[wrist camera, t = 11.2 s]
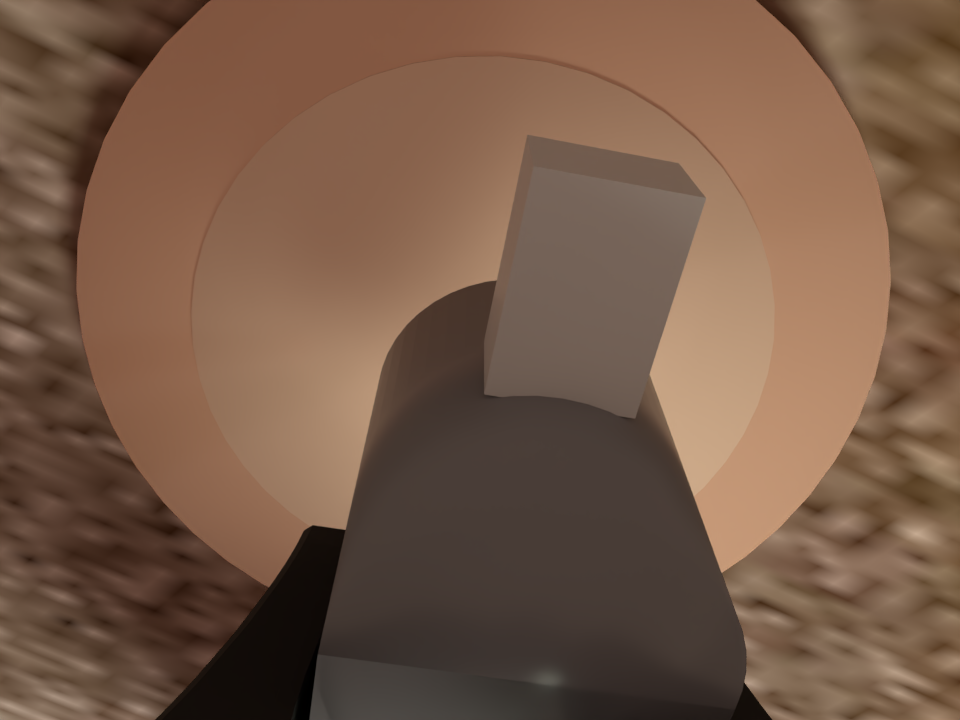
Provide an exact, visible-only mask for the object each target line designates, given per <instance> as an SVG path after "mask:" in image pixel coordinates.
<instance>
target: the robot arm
mask: <svg viewBox="0 0 960 720" xmlns="http://www.w3.org/2000/svg"><path fill="white" fill-rule="evenodd" d="M344 535H345V530H343V529H336V528H329V527H322V526H315V525H312V526H310V527H309V528H307V529H305V530H304V531H303V533H302V535H301V537H300V539H299V541H298V543H297V545H296V547H295V548H294V550H293V552H292V553H291V555H290V557H289V558H288V560H287V562H286V563H285V565H284V566H283V568H282V569H281V571H280V572H279V574H278V575H277V577H276V578H275V580H274V581H273V582H272V584H271V585H270V587H269V588H268V590H267V591H266V592H265V594H264V595H263V596H262V598H261V599H260V600H259V602H258V603H257V604H256V606H255V607H254V608H253V610H252V611H251V612H250V613H249V615H248V616H247V617H246V619H245V620H244V621H243V623H242V624H241V625H240V627H239V628H238V629H237V630H236V632H235V633H234V634H233V635H232V636H231V638H230V639H229V640H228V641H227V642H226V643H225V645H224V646H223V647H222V648H221V649H220V650H219V652H218V653H217V654H216V655H215V656H214V657H213V658H212V660H211V661H210V662H209V663H208V664H207V665H206V667H205V668H204V669H203V670H202V671H201V672H200V673H199V675H198V676H197V677H196V678H195V679H194V680H193V681H192V682H191V683H190V685H189V686H188V687H187V688H186V689H185V690H184V691H183V692H182V693H181V694H180V695H179V696H178V697H177V698H176V699H175V700H174V701H173V702H172V703H171V704H170V706H169V707H168V708H167V709H166V710H165V711H164V712H163V713H162V714H161V715H160V716H159V717H158V718H157V719H156V720H309V718H310V711H311V703H312V695H313V687H314V680H315V672H316V664H317V656H318V651H319V647H320V642H321V638H322V633H323V629H324V624H325V620H326V615H327V611H328V606H329V602H330V597H331V593H332V589H333V584H334V580H335V575H336V571H337V566H338V562H339V557H340V553H341V548H342V544H343V539H344ZM730 720H772V719H771V718H770V716H769V715H768V714H767V712H766V711H765V710H764V709H763V707H762V706H761V705H760V703H759V702H758V701H757V699H756V698H755V697H754V695H753V694H752V692H751V691H750V690H749V688H748V687H747V686H746V684H745V683H744V685H743V690H742V693H741V695H740V698H739V701H738V703H737V706H736V708H735V711H734V713H733V715H732V717H731V719H730Z"/></svg>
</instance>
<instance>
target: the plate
mask: <svg viewBox="0 0 960 720" xmlns="http://www.w3.org/2000/svg"><path fill="white" fill-rule="evenodd" d="M527 135H532V136H537V137H542V138H548V139H553V140H558V141H564V142H569V143H574V144H580V145H585V146H590V147H596V148H601V149H606V150H612V151H617V152H622V153H628V154H633V155H638V156H644V157H649V158H654V159H659V160H665V161H670V162H675V163H679V164H680V165H681V167H682V168H683V169H684V170H685V172H686V173H687V174H688V175H689V177H690V178H691V179H692V181H693V182H694V183H695V184H696V186H697V187H698V188H699V189H700V191H701V192H702V193H703V195H704V196H705V197H706V200H705V204H704V207H703V210H702V213H701V216H700V219H699V222H698V225H697V228H696V231H695V235H694V238H693V241H692V244H691V247H690V250H689V253H688V256H687V259H686V262H685V266H684V269H683V272H682V275H681V278H680V281H679V284H678V287H677V290H676V293H675V297H674V300H673V303H672V306H671V309H670V312H669V315H668V318H667V321H666V324H665V328H664V331H663V334H662V337H661V340H660V343H659V346H658V349H657V352H656V356H655V359H654V362H653V365H652V368H651V371H650V377H651V379H652V382H653V385H654V388H655V391H656V393H657V396H658V399H659V402H660V404H661V407H662V410H663V413H664V415H665V418H666V421H667V424H668V426H669V429H670V432H671V435H672V437H673V440H674V443H675V446H676V449H677V451H678V454H679V457H680V460H681V462H682V465H683V468H684V471H685V473H686V476H687V479H688V482H689V484H690V487H691V490H692V493H693V496H694V498H695V501H696V504H697V507H698V509H699V512H700V515H701V518H702V520H703V523H704V526H705V529H706V531H707V534H708V537H709V540H710V542H711V545H712V548H713V551H714V554H715V556H716V559H717V562H718V565H719V567H720V570H721V573H722V572H724V571H725V570H726V569H728V568H729V567H731V566H732V565H734V564H735V563H737V562H738V561H740V560H741V559H743V558H744V557H746V556H747V555H748V554H749V553H750V552H751V551H753V550H754V549H755V548H756V547H757V546H759V545H760V544H761V543H762V542H763V541H764V540H766V539H767V538H768V537H769V536H770V535H771V534H773V533H774V532H775V531H776V530H777V529H778V528H779V527H780V526H781V525H782V524H783V523H784V522H785V521H786V520H787V519H788V518H789V517H790V516H791V515H792V514H793V512H794V511H795V510H796V509H797V508H798V507H799V506H800V505H801V504H802V503H803V502H804V501H805V500H806V499H807V497H808V496H809V495H810V494H811V493H812V491H813V490H814V488H815V487H816V486H817V484H818V483H819V482H820V480H821V479H822V477H823V476H824V475H825V473H826V472H827V471H828V469H829V468H830V467H831V465H832V464H833V462H834V461H835V460H836V458H837V456H838V454H839V453H840V451H841V449H842V447H843V445H844V444H845V442H846V440H847V438H848V436H849V435H850V433H851V431H852V429H853V427H854V426H855V424H856V422H857V420H858V418H859V415H860V413H861V410H862V408H863V405H864V403H865V400H866V398H867V395H868V393H869V390H870V387H871V385H872V382H873V380H874V377H875V374H876V370H877V366H878V362H879V357H880V353H881V349H882V345H883V341H884V337H885V333H886V326H887V316H888V305H889V295H890V285H891V276H890V257H889V238H888V228H887V223H886V219H885V214H884V209H883V204H882V199H881V195H880V190H879V185H878V180H877V178H876V175H875V172H874V170H873V167H872V164H871V162H870V159H869V156H868V154H867V151H866V148H865V146H864V143H863V140H862V138H861V135H860V132H859V130H858V128H857V126H856V125H855V123H854V121H853V119H852V118H851V116H850V114H849V112H848V110H847V109H846V107H845V105H844V103H843V102H842V100H841V98H840V96H839V95H838V93H837V91H836V89H835V88H834V86H833V84H832V82H831V81H830V80H829V78H828V77H827V76H826V75H825V73H824V72H823V71H822V69H821V68H820V67H819V66H818V64H817V63H816V62H815V61H814V59H813V58H812V57H811V56H810V54H809V53H808V52H807V51H806V49H805V48H804V47H803V46H802V44H801V43H800V42H799V41H798V39H797V38H796V37H795V36H794V35H793V34H792V33H791V32H790V31H789V30H788V29H787V28H786V27H784V26H783V25H782V24H781V23H780V22H779V21H778V20H777V19H776V18H775V17H774V16H772V15H771V14H770V13H769V12H768V11H767V10H766V9H765V8H764V7H763V6H762V5H760V4H759V3H758V2H757V1H756V0H210V1H209V2H208V3H206V4H205V5H204V6H203V7H202V8H201V9H200V10H199V11H198V12H197V13H196V14H195V15H194V16H193V17H192V18H191V19H190V20H189V21H188V22H187V23H186V24H185V25H184V26H183V27H182V28H181V29H180V30H179V31H178V32H177V33H176V34H175V35H174V36H173V37H172V38H171V39H170V40H169V41H168V42H167V43H166V44H164V46H163V47H162V48H161V50H160V51H159V52H158V54H157V55H156V56H155V58H154V59H153V60H152V62H151V63H150V64H149V66H148V67H147V68H146V70H145V71H144V72H143V74H142V75H141V77H140V78H139V79H138V81H137V82H136V83H135V85H134V86H133V87H132V89H131V90H130V91H129V93H128V95H127V97H126V99H125V101H124V103H123V105H122V107H121V108H120V110H119V112H118V114H117V116H116V118H115V120H114V122H113V124H112V125H111V127H110V129H109V131H108V133H107V135H106V137H105V139H104V141H103V144H102V147H101V150H100V153H99V156H98V159H97V162H96V164H95V167H94V170H93V173H92V176H91V179H90V182H89V185H88V188H87V191H86V197H85V202H84V208H83V214H82V219H81V225H80V231H79V236H78V247H77V288H76V291H77V299H78V308H79V316H80V324H81V332H82V339H83V343H84V347H85V351H86V354H87V358H88V362H89V365H90V369H91V373H92V376H93V380H94V384H95V386H96V389H97V391H98V393H99V396H100V398H101V401H102V403H103V405H104V408H105V410H106V412H107V415H108V417H109V420H110V422H111V424H112V427H113V428H114V430H115V432H116V434H117V435H118V437H119V439H120V440H121V442H122V444H123V446H124V447H125V449H126V451H127V452H128V454H129V456H130V458H131V459H132V461H133V463H134V464H135V466H136V467H137V469H138V470H139V471H140V473H141V474H142V475H143V477H144V478H145V479H146V480H147V482H148V483H149V484H150V486H151V487H152V488H153V490H154V491H155V492H156V494H157V495H158V496H159V497H160V499H161V500H162V501H163V502H164V503H165V504H166V506H167V507H168V508H169V509H170V510H171V511H172V512H173V513H174V514H175V515H176V516H177V517H178V518H179V519H180V520H181V521H182V522H183V523H184V524H185V525H186V526H187V527H188V528H189V529H190V530H191V531H192V532H193V533H194V534H195V535H196V536H197V537H199V538H200V539H201V540H202V541H203V542H205V543H206V544H207V545H208V546H210V547H211V548H212V549H213V550H214V551H216V552H217V553H218V554H219V555H221V556H222V557H223V558H224V559H225V560H227V561H228V562H230V563H231V564H233V565H234V566H236V567H237V568H239V569H240V570H242V571H243V572H245V573H246V574H248V575H249V576H251V577H252V578H254V579H256V580H257V581H259V582H260V583H262V584H263V585H265V586H267V587H270V585H271V584H272V582H273V581H274V580H275V578H276V577H277V575H278V574H279V572H280V571H281V569H282V568H283V566H284V565H285V563H286V562H287V560H288V558H289V557H290V555H291V553H292V552H293V550H294V548H295V547H296V545H297V543H298V541H299V539H300V537H301V535H302V533H303V531H304V530H305V529H307V528H309V527H310V526H312V525H315V526H322V527H329V528H336V529H343V530H346V526H347V521H348V517H349V513H350V508H351V504H352V499H353V495H354V490H355V486H356V481H357V477H358V472H359V468H360V463H361V459H362V454H363V450H364V445H365V441H366V437H367V432H368V428H369V423H370V419H371V414H372V410H373V405H374V401H375V396H376V392H377V387H378V383H379V378H380V374H381V370H382V366H383V364H384V361H385V359H386V356H387V353H388V352H389V350H390V348H391V346H392V345H393V343H394V341H395V339H396V338H397V337H398V335H399V334H400V333H401V331H402V330H403V329H404V328H405V326H406V325H407V324H408V323H409V322H410V321H411V320H412V319H413V318H414V317H415V316H416V315H417V314H419V313H420V312H421V311H422V310H424V309H425V308H427V307H428V306H429V305H431V304H432V303H433V302H435V301H437V300H439V299H441V298H442V297H444V296H446V295H448V294H450V293H452V292H455V291H457V290H460V289H462V288H465V287H467V286H471V285H475V284H479V283H483V282H487V281H495V280H497V277H498V272H499V267H500V263H501V258H502V253H503V248H504V244H505V239H506V234H507V229H508V224H509V220H510V215H511V210H512V205H513V201H514V196H515V191H516V186H517V182H518V177H519V172H520V167H521V162H522V158H523V153H524V148H525V143H526V139H527Z"/></svg>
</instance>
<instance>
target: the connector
mask: <svg viewBox="0 0 960 720" xmlns="http://www.w3.org/2000/svg"><path fill="white" fill-rule="evenodd" d="M705 200H706V197H705V196H704V195H703V193H702V192H701V191H700V189H699V188H698V187H697V186H696V184H695V183H694V182H693V181H692V179H691V178H690V177H689V175H688V174H687V173H686V172H685V170H684V169H683V168H682V167H681V165H680V164H679V163H675V162H670V161H665V160H659V159H654V158H649V157H644V156H638V155H633V154H628V153H622V152H617V151H612V150H606V149H601V148H596V147H590V146H585V145H580V144H574V143H569V142H564V141H558V140H553V139H548V138H542V137H537V136H532V135H527V139H526V143H525V148H524V153H523V158H522V162H521V167H520V172H519V177H518V182H517V186H516V191H515V196H514V201H513V205H512V210H511V215H510V220H509V224H508V229H507V234H506V239H505V244H504V248H503V253H502V258H501V263H500V267H499V272H498V277H497V280H495V281H487V282H483V283H479V284H475V285H471V286H467V287H465V288H462V289H460V290H457V291H455V292H452V293H450V294H448V295H446V296H444V297H442V298H441V299H439V300H437V301H435V302H433V303H432V304H431V305H429V306H428V307H427V308H425V309H424V310H422V311H421V312H420V313H419V314H417V315H416V316H415V317H414V318H413V319H412V320H411V321H410V322H409V323H408V324H407V325H406V326H405V328H404V329H403V330H402V331H401V333H400V334H399V335H398V337H397V338H396V339H395V341H394V343H393V345H392V346H391V348H390V350H389V352H388V353H387V356H386V359H385V361H384V364H383V366H382V370H381V374H380V378H379V383H378V387H377V392H376V396H375V401H374V405H373V410H372V414H371V419H370V423H369V428H368V432H367V437H366V441H365V445H364V450H363V454H362V459H361V463H360V468H359V472H358V477H357V481H356V486H355V490H354V495H353V499H352V504H351V508H350V513H349V517H348V521H347V526H346V530H345V535H344V539H343V544H342V548H341V553H340V557H339V562H338V566H337V571H336V575H335V580H334V584H333V589H332V593H331V597H330V602H329V606H328V611H327V615H326V620H325V624H324V629H323V633H322V638H321V642H320V647H319V651H318V656H317V664H316V672H315V680H314V687H313V695H312V703H311V711H310V718H309V720H730V719H731V717H732V715H733V713H734V711H735V708H736V706H737V703H738V701H739V698H740V695H741V693H742V690H743V685H744V680H745V675H746V647H745V641H744V636H743V631H742V628H741V625H740V623H739V620H738V617H737V614H736V612H735V609H734V606H733V603H732V600H731V598H730V595H729V592H728V589H727V587H726V584H725V581H724V578H723V576H722V573H721V570H720V567H719V565H718V562H717V559H716V556H715V554H714V551H713V548H712V545H711V542H710V540H709V537H708V534H707V531H706V529H705V526H704V523H703V520H702V518H701V515H700V512H699V509H698V507H697V504H696V501H695V498H694V496H693V493H692V490H691V487H690V484H689V482H688V479H687V476H686V473H685V471H684V468H683V465H682V462H681V460H680V457H679V454H678V451H677V449H676V446H675V443H674V440H673V437H672V435H671V432H670V429H669V426H668V424H667V421H666V418H665V415H664V413H663V410H662V407H661V404H660V402H659V399H658V396H657V393H656V391H655V388H654V385H653V382H652V379H651V377H650V371H651V368H652V365H653V362H654V359H655V356H656V352H657V349H658V346H659V343H660V340H661V337H662V334H663V331H664V328H665V324H666V321H667V318H668V315H669V312H670V309H671V306H672V303H673V300H674V297H675V293H676V290H677V287H678V284H679V281H680V278H681V275H682V272H683V269H684V266H685V262H686V259H687V256H688V253H689V250H690V247H691V244H692V241H693V238H694V235H695V231H696V228H697V225H698V222H699V219H700V216H701V213H702V210H703V207H704V204H705Z"/></svg>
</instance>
